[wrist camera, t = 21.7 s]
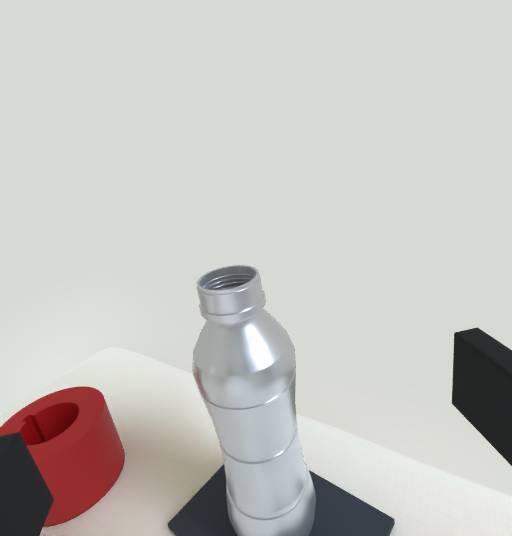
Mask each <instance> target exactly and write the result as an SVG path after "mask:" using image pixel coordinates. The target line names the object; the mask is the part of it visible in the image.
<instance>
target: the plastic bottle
mask: <svg viewBox="0 0 512 536" xmlns="http://www.w3.org/2000/svg"><path fill="white" fill-rule="evenodd" d="M197 291H198V295H199V299H200V311H201V315H202V316H203V317H204V318H205V319H206V320H207V321H206V323H205V325H204V327H203V329H202V331H201V333H200V336H199V338H198V341H197V343H196V346H195V349H194V352H193V365H192V371H193V375H194V378H195V381H196V384H197V387H198V389H199V391H200V394H201V396H202V398H203V401H204V403H205V405H206V407H207V410H208V412H209V414H210V416H211V419H212V421H213V423H214V426H215V430H216V433H217V436H218V439H219V442H220V445H221V449H222V452H223V459H224V466H225V473H226V480H227V482H226V496H227V509H228V515H229V519H230V522H231V524H232V526H233V528H234V530H235V532H236V533H237V535H238V536H308V535H309V533H310V531H311V529H312V526H313V523H314V516H315V505H316V495H315V489H314V485H313V482H312V479H311V476H310V473H309V470H308V467H307V465H306V463H305V461H304V457H303V453H302V449H301V445H300V441H299V437H298V433H297V422H296V410H295V376H296V372H295V368H296V362H295V348H294V346H293V344H292V341H291V339H290V337H289V335H288V333H287V331H286V330H285V329H284V328H283V327H282V326H281V324H279V322H277V320H276V319H275V318H274V317H273V316H271V315H270V314H269V313H268V312H267V311H265V310H264V309H263V307H264V305H265V303H266V299H265V294H264V291H263V290H262V285H261V279H260V275H259V272H258V270H257V269H256V268H254V267H251V266H245V265H236V266H228V267H223V268H219V269H216V270H213V271H210V272H208V273H207V274H205V275H203V276H202V277H200V278H199V280H198V281H197Z"/></svg>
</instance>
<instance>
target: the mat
mask: <svg viewBox="0 0 512 536" xmlns="http://www.w3.org/2000/svg"><path fill="white" fill-rule="evenodd" d="M309 473H310V476H311V479H312V482H313V485H314V489H315V495H316V505H315V516H314V523H313V526H312V529H311V531H310V533H309V535H308V536H389V535H390V533H391V530H392V528H393V526H394V519H393V518H392V517H390V516H388V515H386V514H385V513H383V512H381V511H379V510H378V509H376V508H374V507H372V506H371V505H369V504H367V503H365V502H364V501H362V500H360V499H358V498H357V497H355V496H353V495H351V494H350V493H348V492H346V491H344V490H343V489H341V488H339V487H337V486H336V485H334V484H332V483H330V482H329V481H327V480H325V479H323V478H322V477H320V476H318V475H316V474H315V473H313V472H311V471H309ZM226 482H227V480H226V473H225V466H224V465H223V466H222V467H221V468H220V469H219V470H218V471H217V472H216V473H215V474H214V475H213V476H212V477H211V479H210V480H209V481H208V482H207V483H206V484H205V485H204V486H203V487H202V488H201V489H200V490H199V491H198V492H197V493H196V494H195V496H194V497H193V498H192V499H191V500H190V501H189V502H188V503H187V504H186V505H185V506H184V507H183V508H182V509H181V510H180V511H179V512H178V514H177V515H176V516H175V517H174V518H173V519H172V520H171V521H170V522H169V523H168V526H169V528H170V529H171V530H172V531H173V532H174V533H175V534H176V535H177V536H238V535H237V533H236V532H235V530H234V528H233V526H232V524H231V522H230V519H229V515H228V509H227V496H226Z"/></svg>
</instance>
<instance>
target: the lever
mask: <svg viewBox="0 0 512 536" xmlns="http://www.w3.org/2000/svg"><path fill="white" fill-rule="evenodd" d="M16 432H20V434H21V436H22V438H23V440H24V442H25V444H26V446H27V448H28V450H29V452H30V454H31V455H32V457H33V459H34V461H35V463H36V465H37V467H38V469H39V471H40V473H41V475H42V477H43V479H44V480H45V482H46V484H47V486H48V488H49V490H50V492H51V494H52V496H53V498H54V502H53V505H52V507H51V509H50V512H49V514H48V516H47V519H46V521H45V523H44V526H43V527H46V526H53V525H57V524H60V523H63V522H66V521H68V520H70V519H73V518H75V517H76V516H78V515H80V514H82V513H83V512H85V511H86V510H88V509H89V508H90V507H92V506H93V505H94V504H96V503H97V502H98V501H99V500H100V499H101V498H102V497H103V496H104V495H105V494H106V493H107V492H108V491H109V490H110V488H111V487H112V486H113V484H114V483H115V481H116V480H117V478H118V476H119V475H120V472H121V470H122V467H123V464H124V458H125V455H124V449H123V447H122V444H121V441H120V439H119V436H118V433H117V431H116V428H115V425H114V423H113V420H112V418H111V415H110V412H109V410H108V407H107V404H106V402H105V399H104V397H103V395H102V393H101V392H100V391H99V390H97V389H95V388H91V387H72V388H67V389H63V390H60V391H57V392H54V393H51V394H49V395H46V396H44V397H42V398H40V399H38V400H36V401H34V402H33V403H31V404H29V405H28V406H26V407H24V408H23V409H21V410H20V411H19V412H17V413H16V414H15V415H13V416H12V417H11V418H10V419H9V420H8V421H7V422H5V423H4V424H3V426H2V427H0V436H3V435H8V434H12V433H16Z"/></svg>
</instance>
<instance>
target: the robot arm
mask: <svg viewBox="0 0 512 536" xmlns="http://www.w3.org/2000/svg"><path fill="white" fill-rule="evenodd" d="M452 404H453V405H454V406H455V407H456V408H457V409H458V410H459V411H460V412H461V413H462V414H463V415H464V417H466V419H467V420H468V421H469V422H470V423H471V424H472V425H473V426H474V427H475V428H476V429H477V430H478V431H479V432H480V433H481V434H482V435H483V436H484V437H485V438H486V440H487V441H488V442H489V443H490V444H491V445H492V446H493V447H494V448H495V449H496V450H497V451H498V452H499V453H500V454H501V455H502V456H503V457H504V458H505V459H506V460H507V461H508V463H509V464H510V465H511V466H512V350H510V349H509V348H507V347H506V346H504V345H503V344H501V343H500V342H498V341H497V340H495V339H494V338H492V337H491V336H489V335H488V334H486V333H485V332H483V331H482V330H480V329H479V328H474V329H469V330H465V331H460V332H456V333H455V334H454V361H453V390H452ZM53 502H54V498H53V496H52V494H51V492H50V490H49V488H48V486H47V484H46V482H45V480H44V479H43V477H42V475H41V473H40V471H39V469H38V467H37V465H36V463H35V461H34V459H33V457H32V455H31V454H30V452H29V450H28V448H27V446H26V444H25V442H24V440H23V438H22V436H21V434H20V432H16V433H12V434H8V435H3V436H0V536H39V535H40V533H41V530H42V528H43V526H44V523H45V521H46V519H47V516H48V514H49V512H50V509H51V507H52V505H53Z"/></svg>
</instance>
